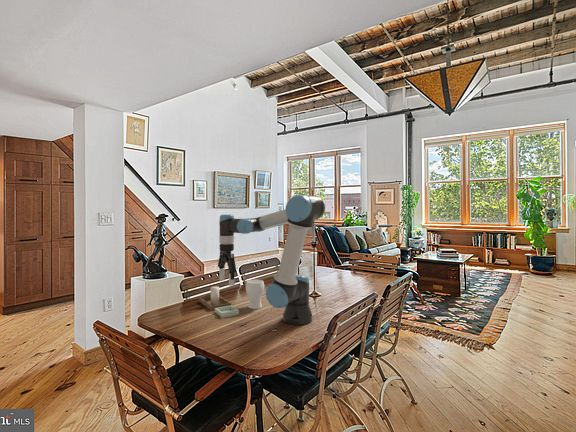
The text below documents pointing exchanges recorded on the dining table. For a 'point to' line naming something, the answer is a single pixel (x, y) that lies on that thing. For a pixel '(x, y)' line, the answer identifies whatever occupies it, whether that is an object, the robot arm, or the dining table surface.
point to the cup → (255, 293)
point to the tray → (222, 303)
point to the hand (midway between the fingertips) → (226, 282)
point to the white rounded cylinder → (214, 295)
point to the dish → (227, 311)
